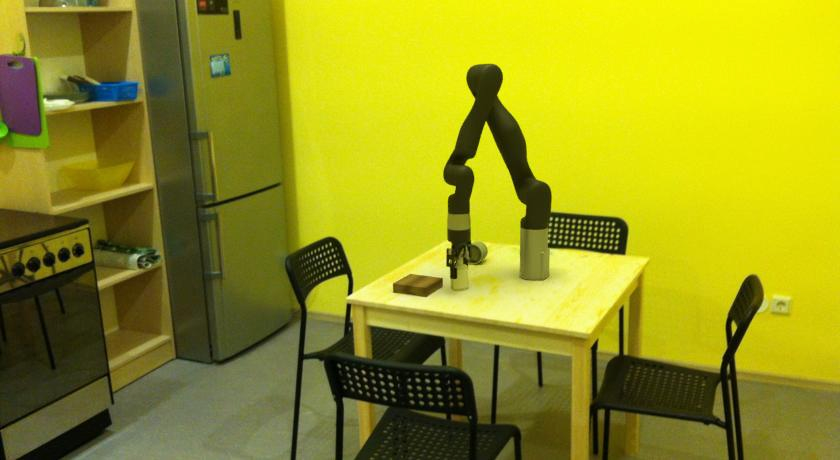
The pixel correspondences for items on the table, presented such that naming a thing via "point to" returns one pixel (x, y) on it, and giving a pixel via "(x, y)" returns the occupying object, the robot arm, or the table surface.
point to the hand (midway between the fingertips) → (459, 275)
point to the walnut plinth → (418, 285)
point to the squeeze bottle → (460, 277)
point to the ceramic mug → (477, 252)
